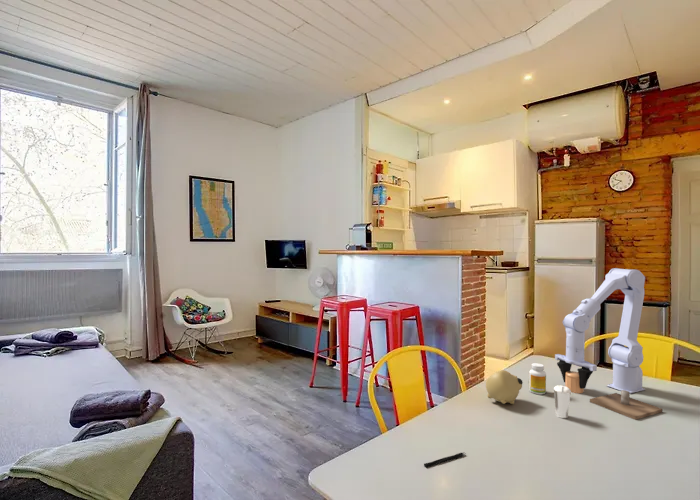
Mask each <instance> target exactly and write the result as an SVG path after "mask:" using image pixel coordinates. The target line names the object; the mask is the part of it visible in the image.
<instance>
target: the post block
mask: <svg viewBox="0 0 700 500" xmlns="http://www.w3.org/2000/svg"><path fill="white" fill-rule="evenodd" d="M620 392H621V393H618V392H614V393H610V394H606V395H601V396H597V397H596V396H595V397H593V398H589V403H592V404H594V405H597V406H600V407H602V408H604V409H607V410H609V411H612V412H613V413H614V412H615V413H617V414H619V415H622V416H625V417H628V418H630V419H633V420H640V419H642V418H647V417H649V416H653V415H657V414H661V413H663V408H661V407H658V406H655V405H652V404H649V403H646V402H644V401H641V400H638V399H634V398H632V397H630V394H631V393H630V392H629V391H625V390H621V391H620Z"/></svg>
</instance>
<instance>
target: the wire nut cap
mask: <svg viewBox="0 0 700 500" xmlns="http://www.w3.org/2000/svg"><path fill="white" fill-rule="evenodd" d="M579 381H580V380H579V373H578V371H574V370H572V371H571V370H570V371H567V372H566V375H565V382H564V384H565V385H564V386H566V387H568V388H569V389H570V390H571V393H574V394H584V389H585V388H583V389H581V388H580V385H579Z"/></svg>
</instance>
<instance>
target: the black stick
mask: <svg viewBox="0 0 700 500" xmlns="http://www.w3.org/2000/svg"><path fill="white" fill-rule="evenodd" d="M466 455H467V453H465V452H464V451H463V452H459V453H456V454H453V455H449V456H446V457H442V458H438V459H436V460H433V461H430V462H426V463H423V467H424V468H426V469H427V468H431V467H433V466H436V465H438V464H443V463H446V462H450V461H453V460H455V459H459V458H462V457H464V456H466Z"/></svg>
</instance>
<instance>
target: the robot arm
mask: <svg viewBox="0 0 700 500" xmlns="http://www.w3.org/2000/svg"><path fill="white" fill-rule="evenodd" d="M604 278H605V279H604V280H603V282H602V283H601V284H600V286H599V287H598V289H597V290H596V291H595V292H594V294H592V296H591V297H590V298H585V299H582V300H581V301H580V304H579V305H578V306H577V307H576V308H575V309H573V310H572V313H568V314H567V315H565V317H564V318H563V320H562V324H563V327H564V329H565V334H566V337H565V355H564V354H560V353H556V354H554V360H555V361H558V362H557V363H556V365H557V367H558V368H559V371H560V373H561V376H562V379H563V383H565V375H566V372H567V371H571V369H572V365H573V366H576V367H580V368H577V372H578V373H579V380H580V381H579V385H580V388H581V389H583V388H584V389H586V388H587V385H588V382H589V379H590V377H591V376H592V374H593V372H596V371H597V368H598V366H597V365H596V364H594V363H592V362H590V361H587V360H585V340H586V338H585V337H586V331H587V330H589V328H590V323H591V322H592V319H593V318H594V317H595V316H596V315H597V313H598V312H599V311H600V310H601V304H602V303H603V302H604V301H605V300H606V299H607V298H609V296H610V295H611V294H612V293H614V292H615V291H617V290H620V291H621V292H622V293H623V294H624V300H623V301H624V302H623V307H622V313H621V320H620V324H619V330H618V336H616V337H615V338H613V339H612V340H611V341H612V342H611V344H610V346H609V347H608V351H607V354H608V357H609V358H611V362H612V383H609V384H607V385H606V387H608V388H612V389H615V390H618V391H620V392H621V390H625V391H629V392H630V394H633V393H638V392H641V391H645V390H646V388H644V387H643V374H644V373H643V369H642V368H641V365H642V363H643V362H644V354H643V349H644V348H643V346H642V345H641V344H640V343H639V342H638V333H639V329H640V323H641V318H642V317H641V316H642V312H643V306H644V305H643V303H644V300H645V299H644V298H645V288H644V287H645V281H646V276H645V275H644V274H643V273H642V272H641V270H639V269H630V268H629V269H627V268H625V269H624V268H618V267H615V268H614V267H613V268H611V269H610V270H609V272H608V273H606V274H605V277H604Z"/></svg>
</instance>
